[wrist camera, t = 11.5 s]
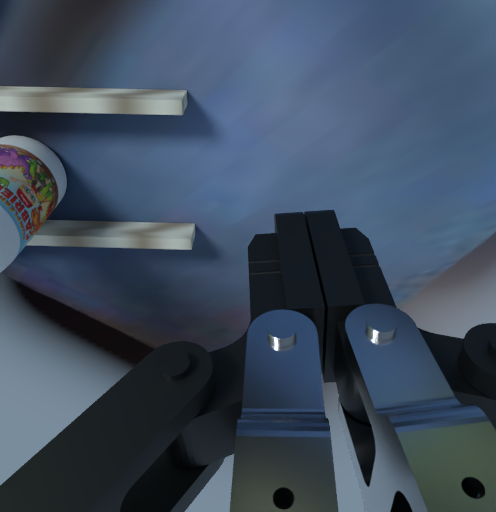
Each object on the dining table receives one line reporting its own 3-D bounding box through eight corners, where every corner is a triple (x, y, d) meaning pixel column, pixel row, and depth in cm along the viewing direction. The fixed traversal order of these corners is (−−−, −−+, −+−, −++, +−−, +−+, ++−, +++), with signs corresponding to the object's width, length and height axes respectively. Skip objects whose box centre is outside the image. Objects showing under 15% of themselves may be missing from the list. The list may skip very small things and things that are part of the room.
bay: (186, 90, 40) (180, 102, 37) (195, 233, 48) (190, 252, 45) (-68, 84, 40) (-93, 96, 37) (-16, 228, 48) (-34, 246, 45)
